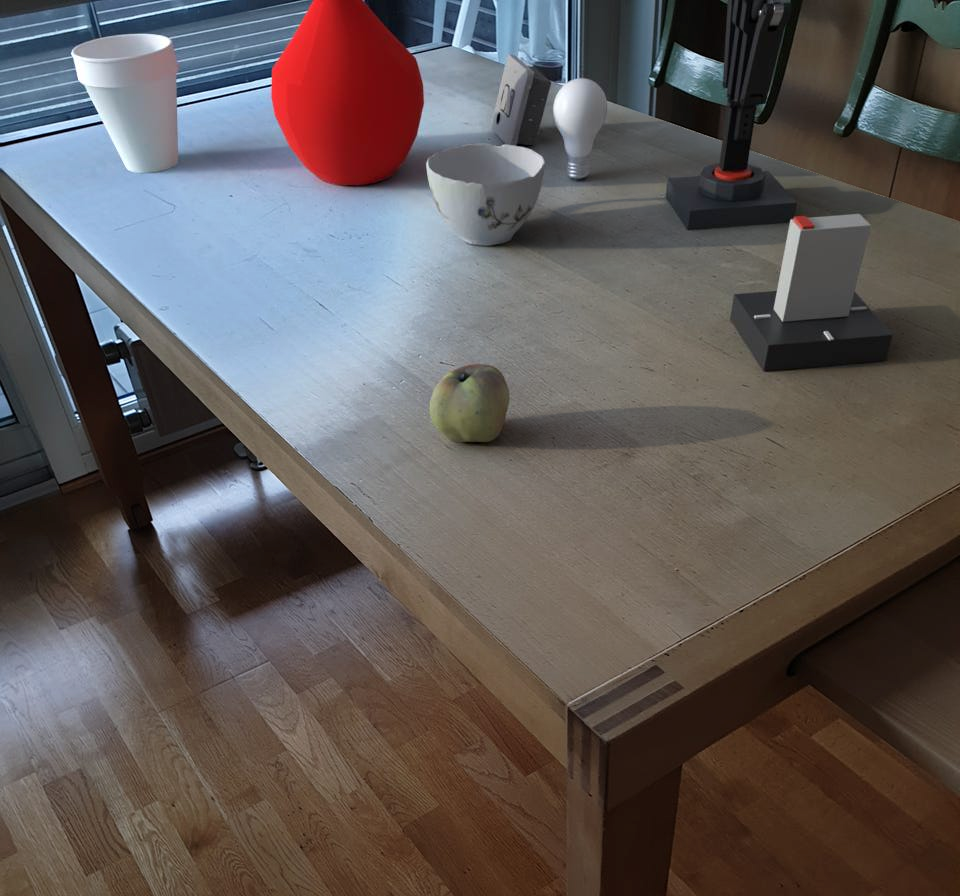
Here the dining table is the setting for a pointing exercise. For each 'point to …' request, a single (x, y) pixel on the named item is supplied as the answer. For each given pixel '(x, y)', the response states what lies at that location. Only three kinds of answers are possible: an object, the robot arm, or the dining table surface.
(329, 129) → the vase
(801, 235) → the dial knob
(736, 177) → the power button
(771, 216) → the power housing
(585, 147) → the lightbulb
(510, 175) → the teacup
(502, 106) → the electrical switch
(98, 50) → the cup
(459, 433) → the apple
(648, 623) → the dining table surface
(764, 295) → the dial panel
